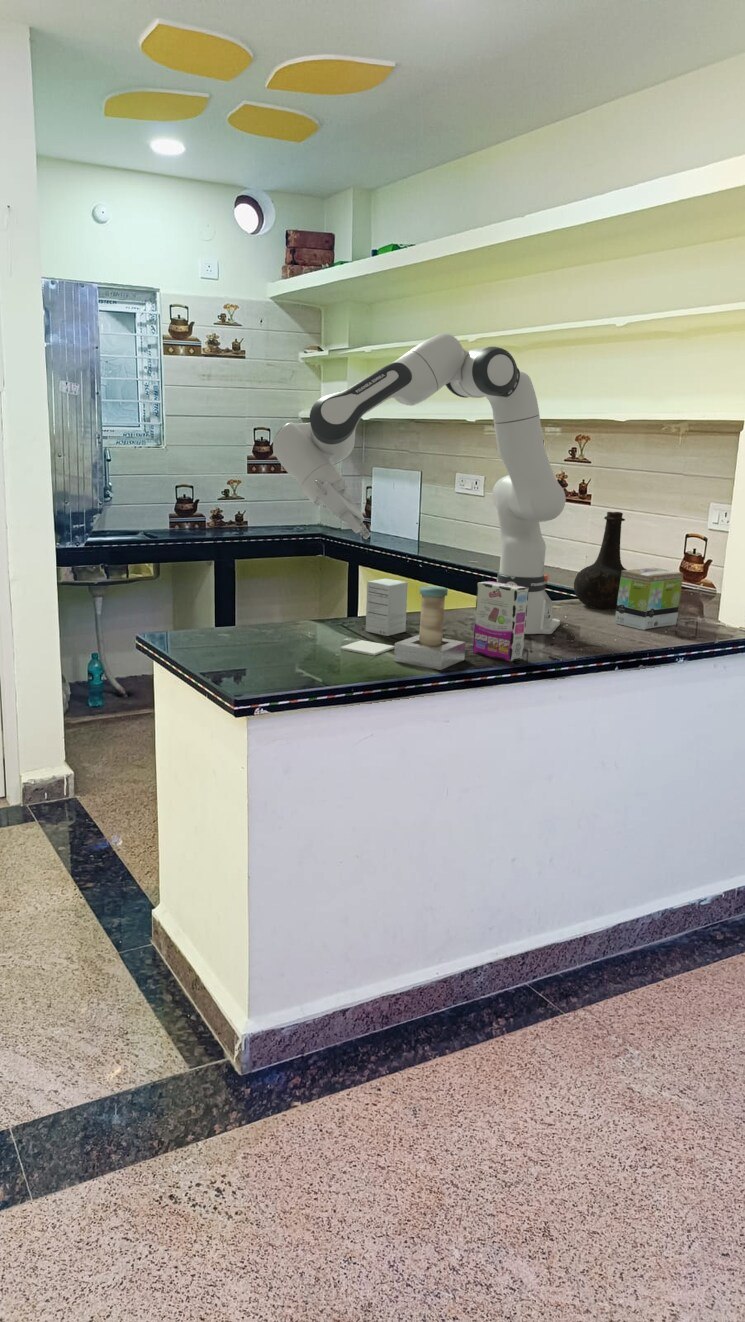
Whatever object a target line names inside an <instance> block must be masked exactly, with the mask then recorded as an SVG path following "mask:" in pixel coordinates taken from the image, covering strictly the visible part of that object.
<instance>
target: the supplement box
mask: <svg viewBox="0 0 745 1322" xmlns="http://www.w3.org/2000/svg"><path fill="white" fill-rule="evenodd" d="M366 582H367V583H366V586H367V587H366V603H365V604H366V609H365V611H366V612H365V631H366V632H368V633H370V634H377V635H381V636H386V637H390V636H393V635H397V634H401V633H405V632H406V627H407V626H406V625H407V624H406V623H407V608H408V607H407V602H408V601H407V600H408V585H409V583H408V581H403V580H398V579H397V580H396V579H391V578H381V579H375V580H374V579H373V580H368V581H366Z"/></svg>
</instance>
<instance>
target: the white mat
mask: <svg viewBox="0 0 745 1322" xmlns="http://www.w3.org/2000/svg"><path fill="white" fill-rule="evenodd" d="M340 650H342V651H348V652H349V651H350V652H351V653H358V654H363V655H369V656H377V655H380V654H383V653H386V652H388V651H391V650H395V645H391V644H390V645H389V644H384V643H379V642H373V641H369V640H368V641H367V640H362V639H361V640H358V641H355V642H354V641H353V642H351V643H349V644H345V645H342V646H340Z"/></svg>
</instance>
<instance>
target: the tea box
mask: <svg viewBox="0 0 745 1322" xmlns="http://www.w3.org/2000/svg"><path fill="white" fill-rule="evenodd" d="M683 579H684V572H680V571H674V570H671V569H670V570H669V569H663V568H658V567H647V568H644V567H643V568H635V569H627V570H622V572H621V579H620V586H619V593H618V600H617V608H616V610H615V616H614V624H617V625H621V626H625V627H629V628H632V629H638V630H642V631H645V630H648V629H655V628H660V627H662V628H663V627H667V626H668V627H669V626H676V625H677V620H678V614H679V606H680V600H681V595H682V594H681V593H682V587H683V586H682V585H683V581H684V580H683Z"/></svg>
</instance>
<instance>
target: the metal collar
mask: <svg viewBox="0 0 745 1322" xmlns="http://www.w3.org/2000/svg"><path fill="white" fill-rule="evenodd" d="M419 635H420V633H419V634H417V635H415V636H411V637H408V638H405V639H403V640H399V641H397V642H394V646H395V648H394V653H393V662H397V663H403V664H406V665H407V664H408V665H412V666H417V667H424V668H428V669H433V670H438V671H439V670H440V671H441V670H444V669H446V668H448V667H450V666H451V667H452V666H453V665H455V664H458V663H460V662H462V661H464V660H465V657H466V656H465V655H466V641H462V640H456V639H451V638H445V637H444V638H443V637H442V646H440V647H437V648H436V647H431V646H425V645H419Z"/></svg>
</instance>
